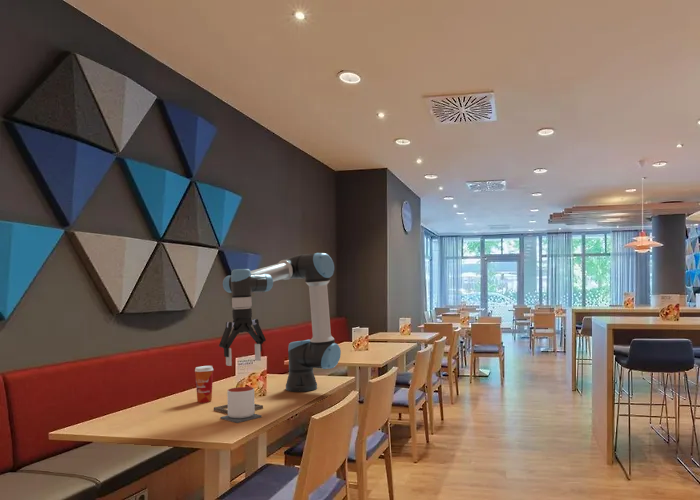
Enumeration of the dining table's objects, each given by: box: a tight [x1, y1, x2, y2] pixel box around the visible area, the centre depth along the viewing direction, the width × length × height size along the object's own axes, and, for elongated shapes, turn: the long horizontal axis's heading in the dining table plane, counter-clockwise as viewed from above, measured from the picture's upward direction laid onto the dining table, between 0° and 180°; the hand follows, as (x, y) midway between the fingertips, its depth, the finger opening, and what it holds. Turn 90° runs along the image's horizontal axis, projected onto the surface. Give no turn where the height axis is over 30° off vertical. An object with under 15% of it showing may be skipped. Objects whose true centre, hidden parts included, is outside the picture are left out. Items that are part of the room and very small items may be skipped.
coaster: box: [220, 413, 263, 424], centre depth 199 cm, size 11×11×1 cm
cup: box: [226, 386, 256, 419], centre depth 200 cm, size 10×10×10 cm
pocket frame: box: [213, 403, 264, 415], centre depth 214 cm, size 14×14×1 cm
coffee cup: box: [194, 365, 214, 404], centre depth 232 cm, size 8×8×15 cm
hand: (243, 362), depth 205 cm, fingers open, 13 cm apart
